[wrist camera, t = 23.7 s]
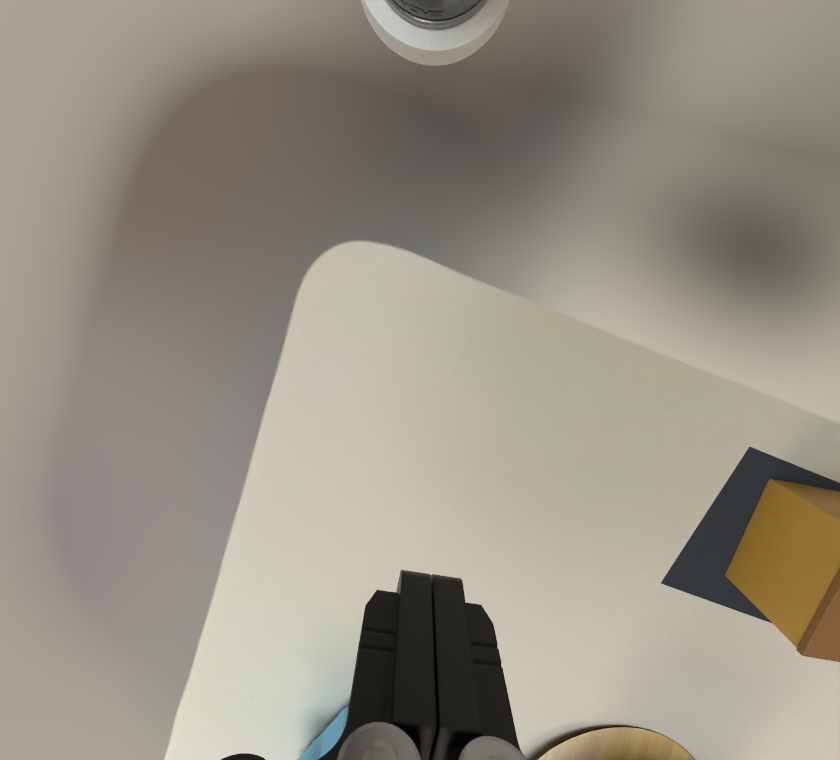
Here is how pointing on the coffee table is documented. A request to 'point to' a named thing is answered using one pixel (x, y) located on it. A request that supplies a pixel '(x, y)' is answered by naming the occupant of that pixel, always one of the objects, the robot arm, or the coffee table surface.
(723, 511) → the mat
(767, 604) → the toy box
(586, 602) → the coffee table surface
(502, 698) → the robot arm
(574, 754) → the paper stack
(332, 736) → the teapot
